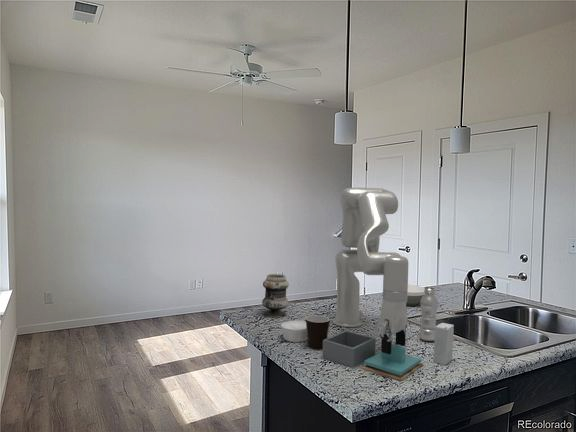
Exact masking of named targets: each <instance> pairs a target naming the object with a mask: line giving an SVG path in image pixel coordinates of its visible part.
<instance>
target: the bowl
mask: <svg viewBox="0 0 576 432" xmlns="http://www.w3.org/2000/svg"><path fill="white" fill-rule="evenodd" d="M424 291H425V286H421V285H420V286H419V285H415V284H408V295H407V302H406V305H407V306H408V307H414V305H415V306H417V305H418V304H421V303H420V301H421V298H422V297H423V296H424V295H425V293H424Z"/></svg>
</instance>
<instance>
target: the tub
mask: <svg viewBox="0 0 576 432" xmlns="http://www.w3.org/2000/svg"><path fill="white" fill-rule="evenodd" d="M376 342H377V340H376V337H372V336H369V335H365V334H361V333H358V332H353V331H349V330H344V331H341V332H338V333H336V334H334V335H331V336H329V337H327V339H324V340H323V349H322V356H321V357H322V359H325V360H328V361H330V362H333V363H338V364H340V365H343V366H345V367H346V366H347V367H350V368H356V367H357V366H359V365H361V364H364V361H365V360H367V359H369V358H370V357H372V356H374V355H376V345H377V344H376Z"/></svg>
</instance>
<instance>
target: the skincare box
mask: <svg viewBox="0 0 576 432" xmlns="http://www.w3.org/2000/svg"><path fill="white" fill-rule="evenodd" d="M454 327H455V325H454V324H450V323H446V322H441V323H439V324H436V327H435V340H434V341H433V342H434V345H433V347H434V349H433V363H436V364H439V365H443V366H446V365H447V364H449V363H450V362H451V361H452V360H453V352H454V351H453V348H454Z"/></svg>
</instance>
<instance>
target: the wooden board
mask: <svg viewBox="0 0 576 432" xmlns="http://www.w3.org/2000/svg"><path fill="white" fill-rule="evenodd" d="M423 366H424V363H423V362H420V363H419V364H417V365H416V366H414V367H413V368H411V369H410V370H408V371H407V372H406V373H404V374H403V375H401V376H400V375H395V374H392V373H389V372H386V371H383V370H380V369H377V368H373V367H370V366H369V365H366V364H364V366H361V370H364V371H367V372H370V373H373V374H376V375H379V376H382V377H386V378H388V379H391V380H395V381H398V382H402V381H404V380H406V379H407V378H408V377H409V376H411V375H412V374H414V373H415V372H417V371H418V370H419V369H421V368H422V367H423Z"/></svg>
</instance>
